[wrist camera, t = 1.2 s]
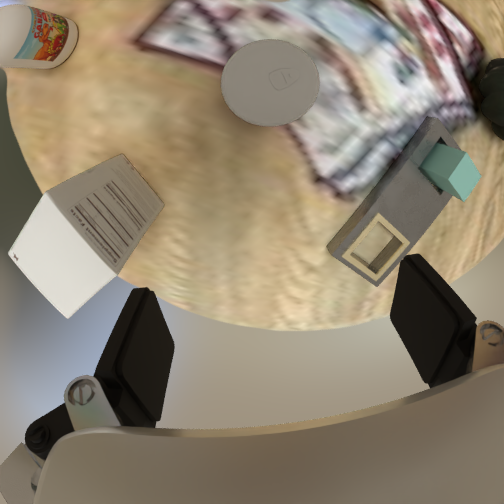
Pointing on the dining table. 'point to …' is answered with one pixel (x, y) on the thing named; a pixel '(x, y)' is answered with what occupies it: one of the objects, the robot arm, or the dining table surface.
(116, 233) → the supplement box
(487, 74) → the squash
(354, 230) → the grey peg hole board
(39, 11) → the milk bottle
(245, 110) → the canned food
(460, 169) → the peg
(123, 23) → the dining table surface
